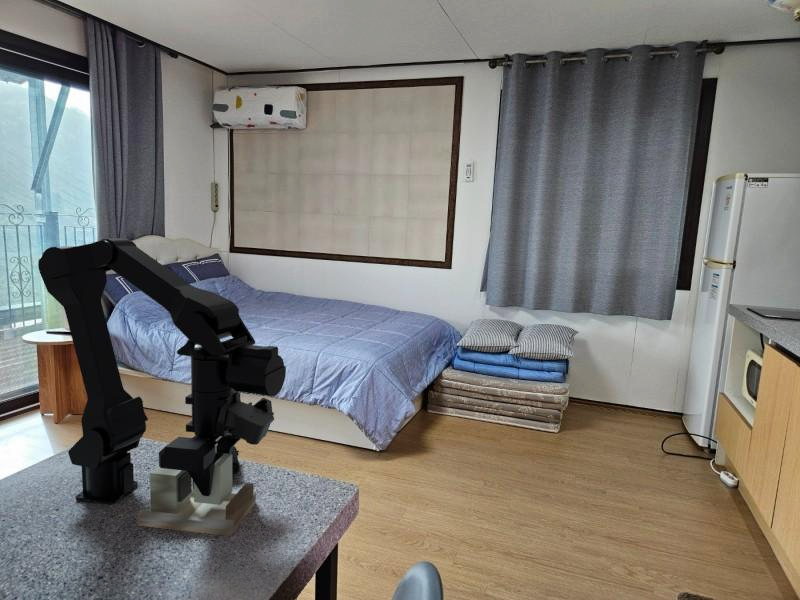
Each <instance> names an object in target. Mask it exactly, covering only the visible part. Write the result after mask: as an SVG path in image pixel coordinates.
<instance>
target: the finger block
mask: <svg viewBox="0 0 800 600" xmlns="http://www.w3.org/2000/svg"><path fill="white" fill-rule="evenodd" d="M216 453H217V452H216ZM191 480H192V486H193V489H194V502H198V503H207V504H216V505H221V504H222V503H223V501H224V500H225V499H226V498H227V497H228V496H229V495H230V494H231V492H232V490H233V475H232V454H227V453H224V455H223V456H222V457H221V458H220V459H219V460H218V461H217V462H216V463H215V465H214V473H213V481H212V488H211V494H210V495H209V496H203V495H202V494H201V493H200V491H199V489H198V488H197V486H196V484H195V483H194V481H193V479H192V478H191Z"/></svg>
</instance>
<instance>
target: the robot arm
mask: <svg viewBox="0 0 800 600" xmlns="http://www.w3.org/2000/svg"><path fill="white" fill-rule="evenodd" d="M37 265H38V271H39V274H40V277H41V279H42V281H43V284H44V286H45V289H46V291H47V292H48V293H49V295H51V296H52V297H53V299H55V300H56V301H57V302H58V303H59V304H60V305H61V306H62V307H63V309H64V312H65V313H64V314H65V316H66V319H67V324H68V328H69V331H70V336H71V341H72V343H73V347H74V351H75V355H76V359H77V362H78V366H79V370H80V374H81V378H82V381H83V385H84V390H85V394H86V398H87V400H86V403H85V408H84V410H83V413H82V416H81V427H82V428H81V429H82V436H81V437H80V438H79V439H78V440H77V442H75V443H74V445H73V446H71V447H70V449H69V450H68V451H67V453H68V456H69V459H70V462H71V464H72V465H74V466H79V467H81V480H82V481H81V483H82V491H81V492H79V493H78V494H77V495H75V500H76V501H84V502H91V503H101V504H109V505H110V504H112V505H113V504H115V503H116V502H118V501H119V500H120V499H122V498H123V497H124V496H125V495H126V494H128V493H129V492H130V491H132V490H133V489H134V488H135V487H136V486H137V487H138V483H139V482H138V480H135V479H134V478H135V477H134V463H133V462H132V461H131V460H132V459H131V452H130V451H132V450H134V449H137V448H139V445H140V441H141V438H143V436H144V434H145V433H146V432H147V431H146V430H147V423H146V422H147V421H149V418H148V417H147V415H146V412H145V409H144V408H145V407H144V401H143V399H142V397H141V396H140V395H139V396H136V397H133V396H132V395H131V394H130V393H129V392H127V391H126V390H125V388H124V386H123V382H122V377H121V373H120V370H119V366H118V362H117V359H116V355H115V351H114V347H113V342H112V339H111V334H110V331H109V327H108V323H107V319H106V318H107V317H106V316H105V312H104V311H105V310H104V307H103V303H102V299H103V298H102V297H103V296H104V292H105V289H106V285H107V283H108V279H107V272H110V271H113V272H114V273H115V274H116V275H118V276H119V277H121V278H122V279H124V280H125V281H126V282H128V283H129V284H131V285H132V286H133V287H135V288H137V289H138V290H139V291H140V292H142V293H143V294H145V295H146V296H147V297H149V298H150V299H151V300H153V301H154V302H156V303H157V304H158V305H160V306H161V307H162V308H164V309H165V310H166V311H167V312H168V313H169V314H170V317H171V320H172V323H173V325H174V326H175V327H176V329H178V330H179V331H180V332H181V334H183V335H184V336H185V337H186V338H187V341H186V343H185V344H184V345H182V346H181V347H180V348H178V349H177V351H176V353H177V355H178V356H184V357H190V381H191V382H190V385H191V388H190V390H191V391H190V392H191V393H190V394H188V395H186V396H185V397H184V398H185V399H184V400H185V401H184V403H185V405H191V421H189V422H188V423H186V424H185V432H186V433H194V436H193V437H189V436H188V437H186V436H185V437H184V436H178V437H176V438H175V439H173V440H172V441H171V442H170V443H168V444H166V445H165V446H164V447H163V448H162V449H161V450H160V451H159V452H158V466H159V467H160V468H164V469H174V470H184V471H187V472H188V473H189V475H190V476H191V480H192V479H193V481H194V483H195V484H196V486H197V488H198V489H199V491H200V493H201V494H202V495H203V496H209V495H210V494H211V488H212V481H213V473H214V465H215V463H216V462H217V461H218V460H219V459H220V458H221V457H222V456H223V455H224V453H227V454H232V451H233V448H234V447H235V445H236V444H237V443H238V442H239V441H241V439H242V440H244V441H245V442H246V443H247V444H249V445H259V443H260V442H261V441H262V440H263V439H264V438H265V437H266V436H267V433H268V432H269V428H270V426H271V424H272V423H273V422H274V421H275V416H274V415H275V412H273V405H272V401H271V400H270V399H267V398H265V397H262V398H260V400H258V401H257V402H256V403H255V404H253V402H251V401H249V403H246V402H243V401H241V393H246V394H253V395H258V396H260V395H261V396H267V397H276V396H278V394H279V393H281V390H282V389H283V387H284V383H285V380H286V374H287V373H286V372H287V367H286V366H285V362H284V358H283V357H282V356H281V355H279V347H278V346H276V345H267V346H265V345H264V346H263V345H256V340H255V338H254V336H253V335H252V333H251V332H250V331H249V329H248V328H247V326H246V324H245V322H244V321H243V320H242V317H240V314H239V313H240V312H239V311H240V310H239V309H240V308H239V307H238V306H237V305H236V303H234V301H232V300H230V299H228V298H226V297H224V296H222V295H219V294H218V293H215V292H213V291H209V290H206V289H202V288H198V287H196V286H194V285H191V284H190V283H188V282H187V281H186V280H184V279H183V278H181V277H180V276H178V275H177V274H176V273H175V272H173V271H171V270H170V269H168V268H167V267H166V266H165V265H163V264H162V263H161V262H159V261H158V260H157V259H155V258H153V257H152V256H150V255H149V254H147V253H146V252H144V250H142V249H140V248H139V247H138V246H137V245H136V243H135V242H134V241H132V240H131V239H128V238H127V237H125V238H124V237H123V238H119V237H118V238H102V239H100V240H97V241H94V242H91V243H85V244H82V245H73V246H72V245H70V246H69V245H68V246H50V247H48V248H47V249H45V250H44V251H43V252H42V254H41V257H40V258H39V259H38V264H37ZM229 337H232V338H229ZM226 338H229V339H226ZM223 339H226V340H223ZM222 340H223V341H222ZM216 452H217V453H216Z"/></svg>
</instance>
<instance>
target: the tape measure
mask: <svg viewBox="0 0 800 600" xmlns="http://www.w3.org/2000/svg"><path fill="white" fill-rule="evenodd" d="M239 452H240V450H238V449H237V447H236V446H234V448H233V451H232V476H234V475H236V474H238V473H239V472H240V462H239V458H238V456H239Z"/></svg>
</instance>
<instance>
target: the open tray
mask: <svg viewBox="0 0 800 600" xmlns="http://www.w3.org/2000/svg"><path fill="white" fill-rule="evenodd" d="M149 487H150V488H149V490H150V494H149V496H150V508H149V509H148V510H143V509H141V510H139V511H138V512H137V513H136V516H137V521H136V522H137V526H139V527H149V528H157V529H164V530H165V529H166V530H174V531H182V532H189V533H190V532H192V533H198V534H199V533H200V534H209V535H217V536H218V535H219V536H225V537H231V536H232V535H234V532H235V531H236V530H237V529H238V528H239V526H240V525H241V523H242V522H243V521H244V519H245V518H246V517H247V515H248V514H249V513H250V512H251V510H252V509H253V508H254V506H255V505H256V504H257V493H256V492H254V482H253V483H252V482H245V483H244V484H243V486H242V487H241V488H240V489H239V490H236V489H232V492H231V494H230V495H229V496H228V497H227V498H226V499H225V500H224V501H223V503H222V504H221V505H216V504H207V503H198V502H194V489H193V486H192V478H191V476H190V475H189V473H188V472H187V471H184V470H174V469H164V468H160V467H159V465H158V466H157V467H156V468H155V469H153V470H152V471H150V472H149Z"/></svg>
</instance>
